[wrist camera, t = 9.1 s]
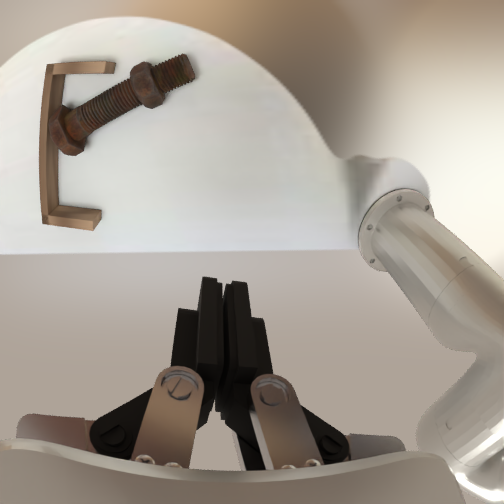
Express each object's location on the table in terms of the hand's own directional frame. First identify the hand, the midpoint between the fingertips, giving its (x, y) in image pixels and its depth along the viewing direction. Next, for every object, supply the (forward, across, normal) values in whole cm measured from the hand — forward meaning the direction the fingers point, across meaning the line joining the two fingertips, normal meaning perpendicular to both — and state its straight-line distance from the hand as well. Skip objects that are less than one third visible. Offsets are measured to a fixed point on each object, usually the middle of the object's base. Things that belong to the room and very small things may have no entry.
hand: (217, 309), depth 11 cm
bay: (+22, +17, 0) cm, 28 cm away
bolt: (+23, +11, -6) cm, 26 cm away
